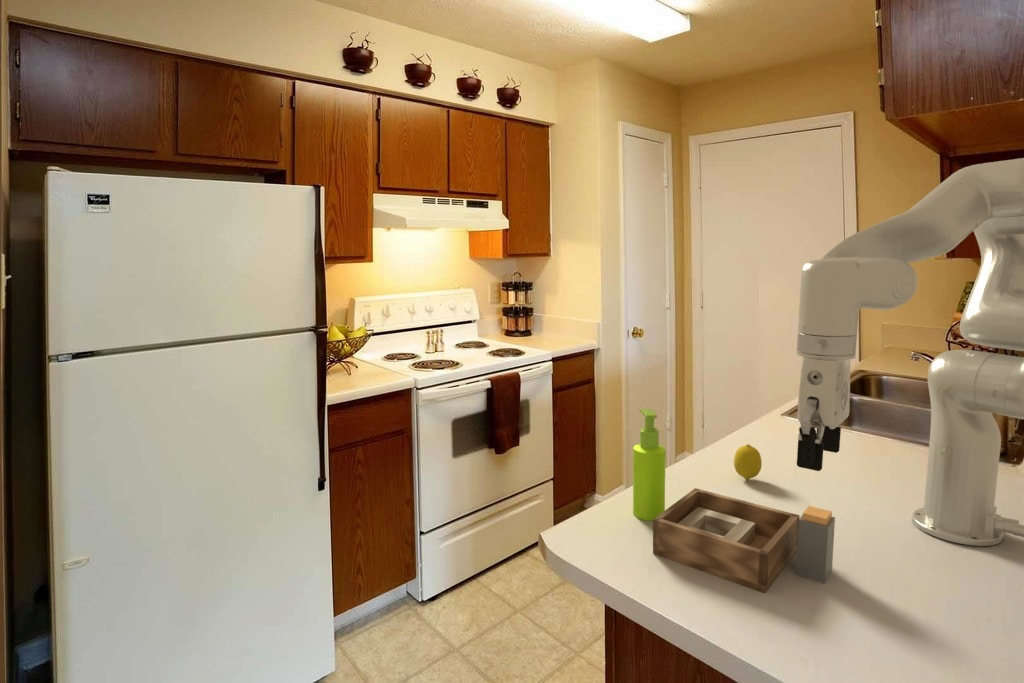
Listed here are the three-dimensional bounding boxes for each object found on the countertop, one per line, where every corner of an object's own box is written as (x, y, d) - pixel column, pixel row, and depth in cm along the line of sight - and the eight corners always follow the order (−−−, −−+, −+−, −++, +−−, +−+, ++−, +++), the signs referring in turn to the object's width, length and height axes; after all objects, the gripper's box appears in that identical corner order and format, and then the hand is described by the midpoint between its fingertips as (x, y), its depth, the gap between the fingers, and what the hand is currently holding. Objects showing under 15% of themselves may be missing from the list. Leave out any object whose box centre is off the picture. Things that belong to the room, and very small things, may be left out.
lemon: (756, 475, 127) (757, 440, 126) (764, 485, 122) (765, 448, 120) (730, 474, 128) (731, 440, 126) (737, 484, 122) (738, 448, 121)
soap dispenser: (657, 504, 114) (658, 406, 111) (668, 520, 108) (670, 416, 104) (628, 505, 114) (628, 407, 111) (637, 521, 107) (637, 417, 104)
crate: (797, 549, 96) (799, 515, 95) (764, 593, 84) (766, 554, 83) (694, 518, 108) (695, 488, 107) (652, 553, 96) (653, 519, 95)
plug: (831, 572, 89) (835, 511, 87) (824, 583, 86) (828, 520, 84) (803, 563, 92) (806, 504, 90) (796, 574, 89) (799, 513, 87)
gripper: (840, 356, 74) (831, 483, 77) (868, 340, 87) (860, 449, 90) (779, 351, 79) (772, 469, 82) (814, 336, 92) (807, 439, 95)
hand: (818, 459), depth 86 cm, fingers open, 9 cm apart
